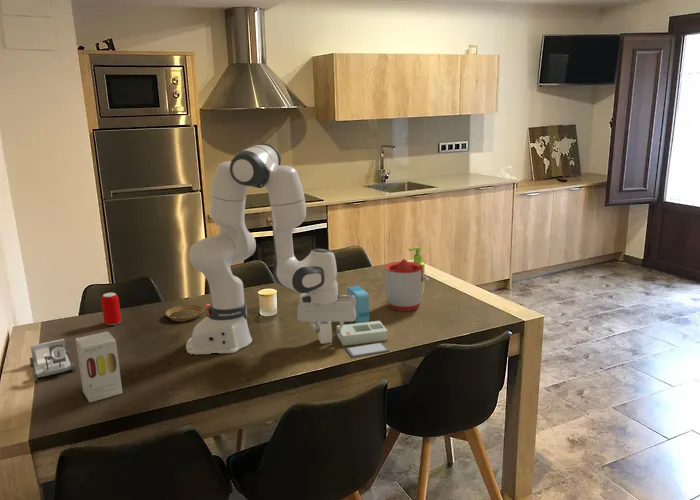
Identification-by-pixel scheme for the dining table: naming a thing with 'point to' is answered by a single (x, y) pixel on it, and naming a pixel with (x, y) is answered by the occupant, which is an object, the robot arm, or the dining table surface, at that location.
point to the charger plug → (325, 332)
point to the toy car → (50, 358)
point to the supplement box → (99, 366)
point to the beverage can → (111, 308)
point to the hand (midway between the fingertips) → (327, 332)
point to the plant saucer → (184, 307)
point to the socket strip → (362, 333)
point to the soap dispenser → (418, 259)
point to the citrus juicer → (404, 285)
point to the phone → (367, 349)
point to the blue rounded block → (360, 303)
